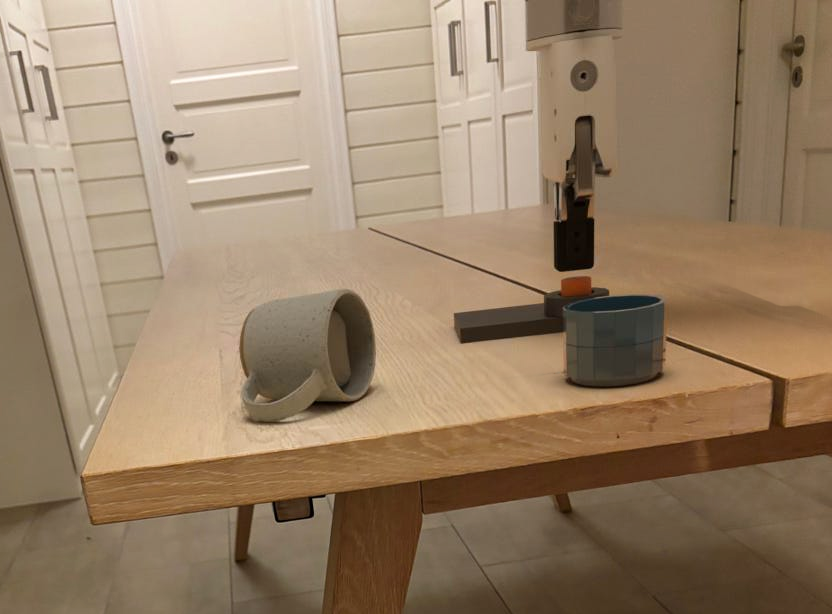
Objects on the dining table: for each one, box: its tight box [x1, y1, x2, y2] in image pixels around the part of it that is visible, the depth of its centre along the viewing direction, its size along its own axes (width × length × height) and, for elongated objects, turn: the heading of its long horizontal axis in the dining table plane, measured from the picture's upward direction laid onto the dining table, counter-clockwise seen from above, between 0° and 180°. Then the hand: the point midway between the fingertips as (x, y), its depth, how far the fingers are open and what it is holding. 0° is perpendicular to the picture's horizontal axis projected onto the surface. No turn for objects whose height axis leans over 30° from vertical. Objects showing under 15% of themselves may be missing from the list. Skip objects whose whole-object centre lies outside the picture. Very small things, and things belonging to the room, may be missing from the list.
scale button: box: [560, 275, 592, 296], centre depth 85 cm, size 3×3×2 cm
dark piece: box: [453, 286, 610, 345], centre depth 88 cm, size 13×10×3 cm
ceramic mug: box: [238, 288, 377, 423], centre depth 69 cm, size 11×8×8 cm
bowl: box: [562, 293, 668, 388], centre depth 67 cm, size 7×7×5 cm
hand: (573, 268), depth 84 cm, fingers closed
